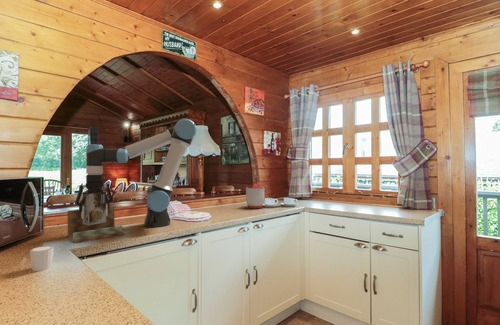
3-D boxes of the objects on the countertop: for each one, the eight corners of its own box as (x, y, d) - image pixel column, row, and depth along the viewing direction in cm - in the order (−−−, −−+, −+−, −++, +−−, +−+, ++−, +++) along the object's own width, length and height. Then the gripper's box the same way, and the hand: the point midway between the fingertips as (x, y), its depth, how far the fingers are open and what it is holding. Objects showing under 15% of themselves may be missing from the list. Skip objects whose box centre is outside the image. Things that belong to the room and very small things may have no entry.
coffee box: (99, 220, 150) (99, 191, 150) (106, 222, 147) (106, 191, 147) (82, 224, 142) (82, 192, 142) (89, 225, 139) (89, 193, 139)
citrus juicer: (254, 205, 240) (254, 182, 240) (268, 207, 227) (268, 183, 227) (240, 207, 230) (240, 183, 230) (254, 210, 217) (254, 184, 217)
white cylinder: (28, 268, 99) (28, 248, 99) (52, 263, 104) (52, 244, 104) (31, 273, 94) (31, 252, 94) (55, 268, 99) (55, 248, 99)
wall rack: (113, 228, 157) (113, 205, 157) (124, 234, 144) (123, 209, 144) (67, 236, 142) (67, 210, 142) (74, 243, 129) (74, 215, 129)
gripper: (115, 173, 155) (115, 213, 155) (67, 174, 139) (67, 218, 139) (120, 173, 149) (120, 215, 149) (70, 175, 134) (70, 221, 134)
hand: (94, 216), depth 144 cm, fingers closed on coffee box, 10 cm apart
